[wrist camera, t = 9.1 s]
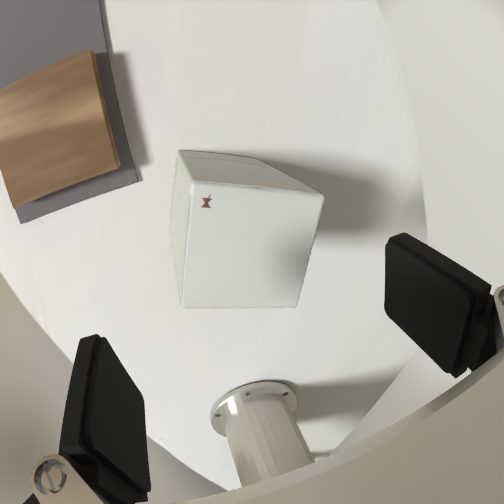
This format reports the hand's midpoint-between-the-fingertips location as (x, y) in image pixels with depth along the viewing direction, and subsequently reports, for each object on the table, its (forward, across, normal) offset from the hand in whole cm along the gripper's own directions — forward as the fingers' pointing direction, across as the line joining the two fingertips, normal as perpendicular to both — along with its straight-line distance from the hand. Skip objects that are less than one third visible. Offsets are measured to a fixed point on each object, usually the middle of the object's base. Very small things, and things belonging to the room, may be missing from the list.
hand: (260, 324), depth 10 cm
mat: (+20, +10, -14) cm, 26 cm away
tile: (+18, +10, -14) cm, 25 cm away
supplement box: (+20, -2, +1) cm, 20 cm away
